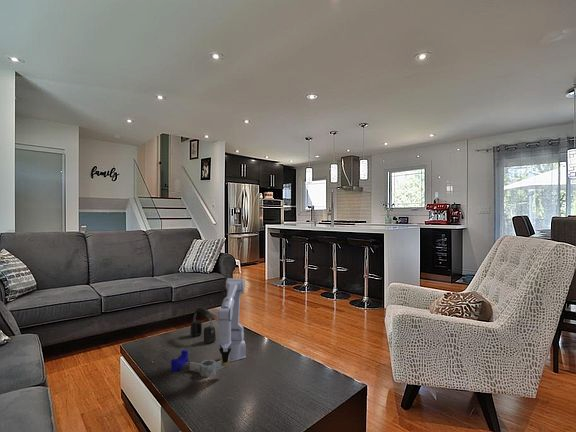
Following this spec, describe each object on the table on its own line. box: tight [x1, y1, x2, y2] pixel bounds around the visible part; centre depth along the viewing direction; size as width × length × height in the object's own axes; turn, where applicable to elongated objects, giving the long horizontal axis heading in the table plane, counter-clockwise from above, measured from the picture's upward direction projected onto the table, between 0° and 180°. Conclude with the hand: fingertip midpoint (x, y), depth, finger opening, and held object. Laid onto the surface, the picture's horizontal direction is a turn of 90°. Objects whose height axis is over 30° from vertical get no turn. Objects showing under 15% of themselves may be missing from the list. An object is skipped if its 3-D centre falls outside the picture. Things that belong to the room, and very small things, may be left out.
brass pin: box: [220, 347, 230, 367], centre depth 152 cm, size 4×4×8 cm
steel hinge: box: [189, 359, 228, 378], centre depth 159 cm, size 18×12×5 cm
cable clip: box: [170, 349, 189, 373], centre depth 163 cm, size 12×4×6 cm, turn 171°
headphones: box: [189, 307, 217, 344], centre depth 200 cm, size 22×6×20 cm, turn 48°
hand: (225, 360), depth 152 cm, fingers closed on brass pin, 4 cm apart
